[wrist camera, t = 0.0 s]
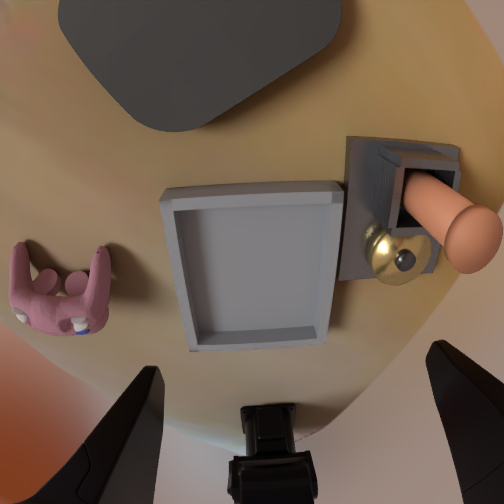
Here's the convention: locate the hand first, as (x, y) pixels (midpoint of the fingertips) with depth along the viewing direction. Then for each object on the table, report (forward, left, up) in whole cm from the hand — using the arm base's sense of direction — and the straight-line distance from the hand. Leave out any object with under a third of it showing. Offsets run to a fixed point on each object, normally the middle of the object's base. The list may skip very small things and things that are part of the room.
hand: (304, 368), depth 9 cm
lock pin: (+1, -10, -14) cm, 17 cm away
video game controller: (-5, +17, -15) cm, 23 cm away
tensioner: (-1, -10, -15) cm, 18 cm away
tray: (-6, +1, -15) cm, 16 cm away
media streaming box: (+14, +4, -15) cm, 21 cm away
